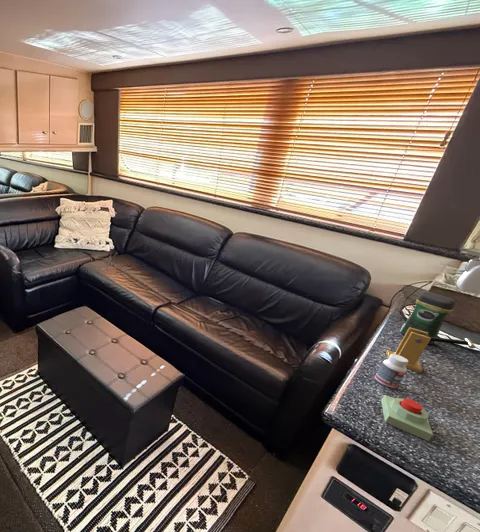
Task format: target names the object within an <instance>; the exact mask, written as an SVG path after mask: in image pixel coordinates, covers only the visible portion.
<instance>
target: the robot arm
mask: <svg viewBox="0 0 480 532" xmlns="http://www.w3.org/2000/svg"><path fill="white" fill-rule="evenodd" d="M464 269H465V271H463V273H462V274H461V275H460V276H459V277H458V279H457V281H456V284H455V285H456V287H457V288H458V289H459V290H461V291H464V292H467V293H471V294H476V295H480V257H479V258H477V257H476V258H472V259H470V260H469V261H468V262H467V263H466V265H465V267H464Z"/></svg>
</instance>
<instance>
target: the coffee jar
mask: <svg viewBox="0 0 480 532" xmlns="http://www.w3.org/2000/svg"><path fill="white" fill-rule="evenodd" d="M456 302H457V301H456V299H454V298H451V297H447V296H444V295H441V294H439V293H434V292H431V291H428V290H427V291H422V292H421V293H420V294H419V296H418V297H417V298H416V300H415V305H414V308H413V310H412V312H411V313H410V315H409V317H407V319H406V320H405V322H404V323H403V324H402V326H401V328H400V330H399V332H400V333H401V334H402V335H403V336H405V334H406V332H407V330H408V329H409V327H411V328H414V329H418V330H421V331H424V332H428V335H427V336H428V337H437V338H438V336H439V333H440V330H441V328H442V326H443V323H444V322H445V319H446V317H447V316H448V315H449V314H451V313H452V312H453V311H454V309H455V306H456ZM435 342H436V341H429V343H428V344H430V345H432V344H434V343H435ZM428 344H427V345H428Z"/></svg>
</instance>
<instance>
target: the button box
mask: <svg viewBox="0 0 480 532" xmlns="http://www.w3.org/2000/svg"><path fill="white" fill-rule="evenodd" d="M403 399H404V398H401V397H392V396H389V395H386V394H384V395H383V396H382V398H381V400H380V402H381V408H382V412H383V413H382V414H383V419H384V423H385V424H388V425H390V426H393V427H395V428H397V429H400V430H401V431H404V432H406V433H408V434H410V435H413V436H415V437H417V438H420V439H422V440H425V441H427V442H429V441H430V440H431V438H432V437H433V436H434V432H433V431H432V427H431V424H430V422H429V418H430V417H429V414H428V412H427V411H426V410H425V409H424V408H423V409H422V411H421V412H420V414H414V413H412V412H409V411H408V410H406V409H404V408H403V407H402V406H401V405H400V404H401V402H402V401H403Z"/></svg>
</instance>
